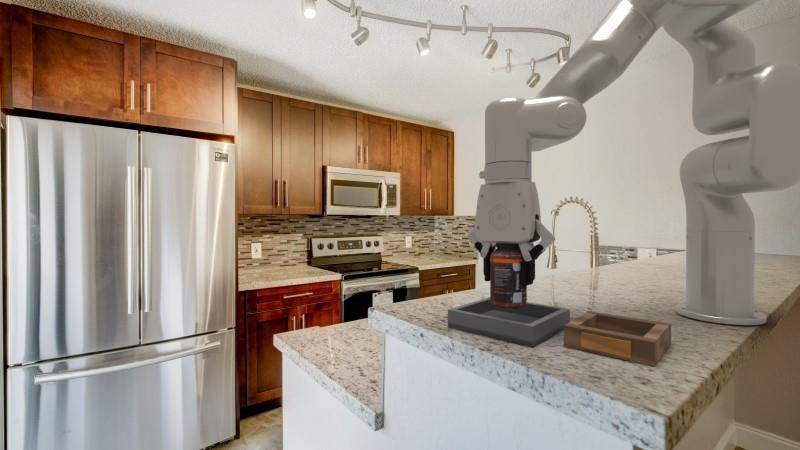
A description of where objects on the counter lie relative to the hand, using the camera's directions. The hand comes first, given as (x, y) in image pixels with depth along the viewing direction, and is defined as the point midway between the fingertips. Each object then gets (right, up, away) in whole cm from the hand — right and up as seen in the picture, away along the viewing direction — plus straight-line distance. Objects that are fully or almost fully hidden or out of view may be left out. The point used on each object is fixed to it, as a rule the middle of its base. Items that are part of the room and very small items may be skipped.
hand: (508, 281), depth 64 cm
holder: (+13, -8, -10) cm, 18 cm away
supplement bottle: (0, -4, 0) cm, 4 cm away
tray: (0, -8, 0) cm, 8 cm away
